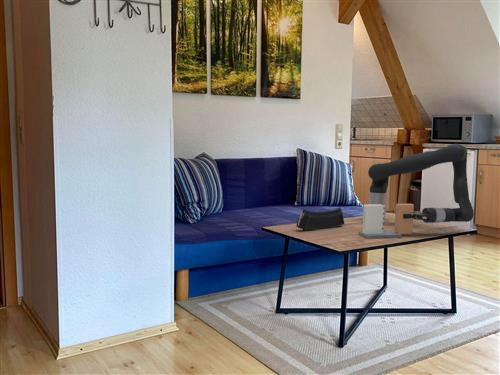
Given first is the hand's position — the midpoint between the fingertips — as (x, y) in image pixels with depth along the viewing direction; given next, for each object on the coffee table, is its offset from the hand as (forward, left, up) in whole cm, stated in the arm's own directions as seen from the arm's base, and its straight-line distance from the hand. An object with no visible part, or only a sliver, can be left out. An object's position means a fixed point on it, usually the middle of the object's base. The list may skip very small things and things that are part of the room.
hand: (401, 215), depth 248 cm
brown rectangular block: (0, +1, -8) cm, 8 cm away
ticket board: (0, -11, -10) cm, 15 cm away
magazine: (-20, -35, -10) cm, 41 cm away
